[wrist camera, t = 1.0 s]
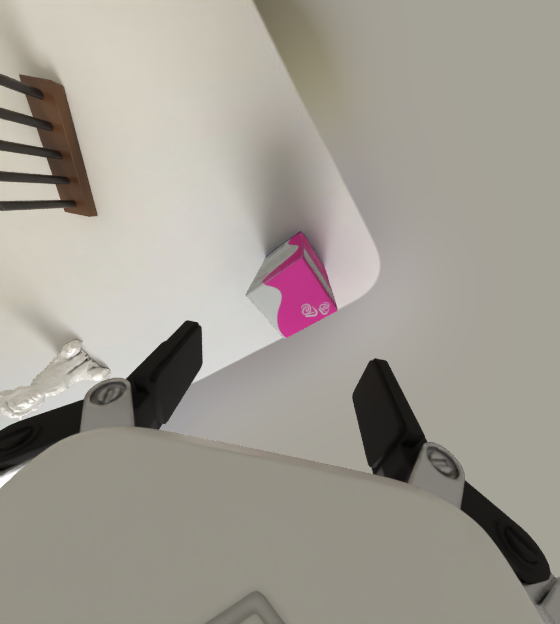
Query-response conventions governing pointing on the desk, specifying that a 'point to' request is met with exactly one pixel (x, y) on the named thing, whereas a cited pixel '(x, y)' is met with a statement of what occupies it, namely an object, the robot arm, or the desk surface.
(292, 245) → the supplement box
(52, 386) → the white creature statuette
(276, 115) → the desk surface
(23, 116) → the rack
